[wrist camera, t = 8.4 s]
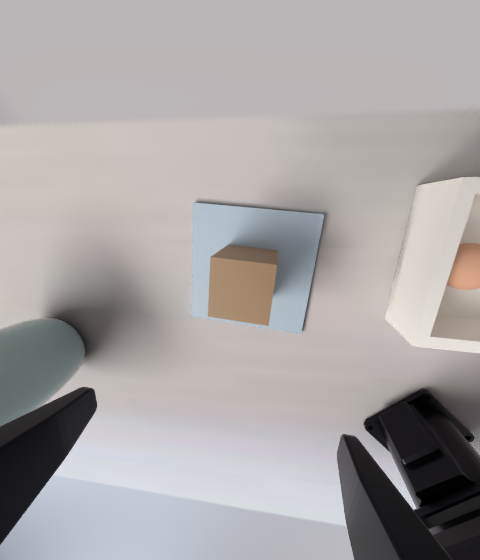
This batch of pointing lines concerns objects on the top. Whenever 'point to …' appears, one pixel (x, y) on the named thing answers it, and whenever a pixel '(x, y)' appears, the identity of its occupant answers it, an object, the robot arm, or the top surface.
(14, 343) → the cup
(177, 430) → the top surface
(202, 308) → the lid
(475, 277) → the ball terracotta
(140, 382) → the top surface
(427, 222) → the box
